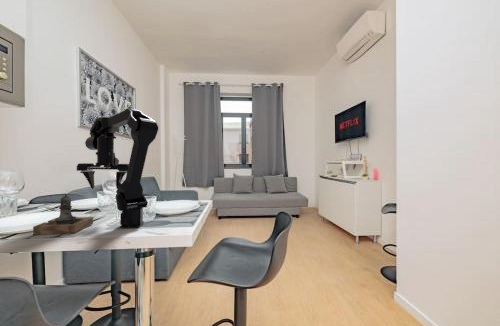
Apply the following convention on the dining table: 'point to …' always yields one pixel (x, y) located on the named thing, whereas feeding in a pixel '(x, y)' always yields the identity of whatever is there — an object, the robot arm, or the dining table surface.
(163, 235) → the dining table surface
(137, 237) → the dining table surface
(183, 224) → the dining table surface
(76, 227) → the wooden tray
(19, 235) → the dining table surface
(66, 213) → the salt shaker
